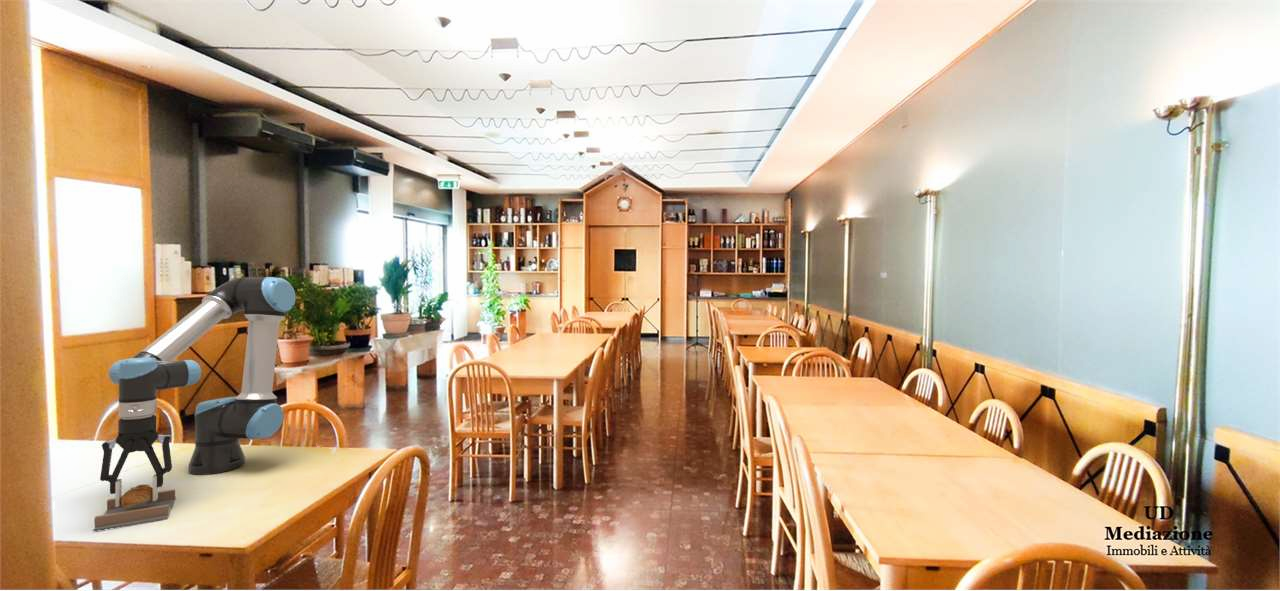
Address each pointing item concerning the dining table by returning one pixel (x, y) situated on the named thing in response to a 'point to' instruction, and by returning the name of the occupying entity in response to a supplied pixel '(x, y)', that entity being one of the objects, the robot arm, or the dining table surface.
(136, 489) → the pastry
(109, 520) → the pastry holder
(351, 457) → the dining table surface
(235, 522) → the dining table surface
